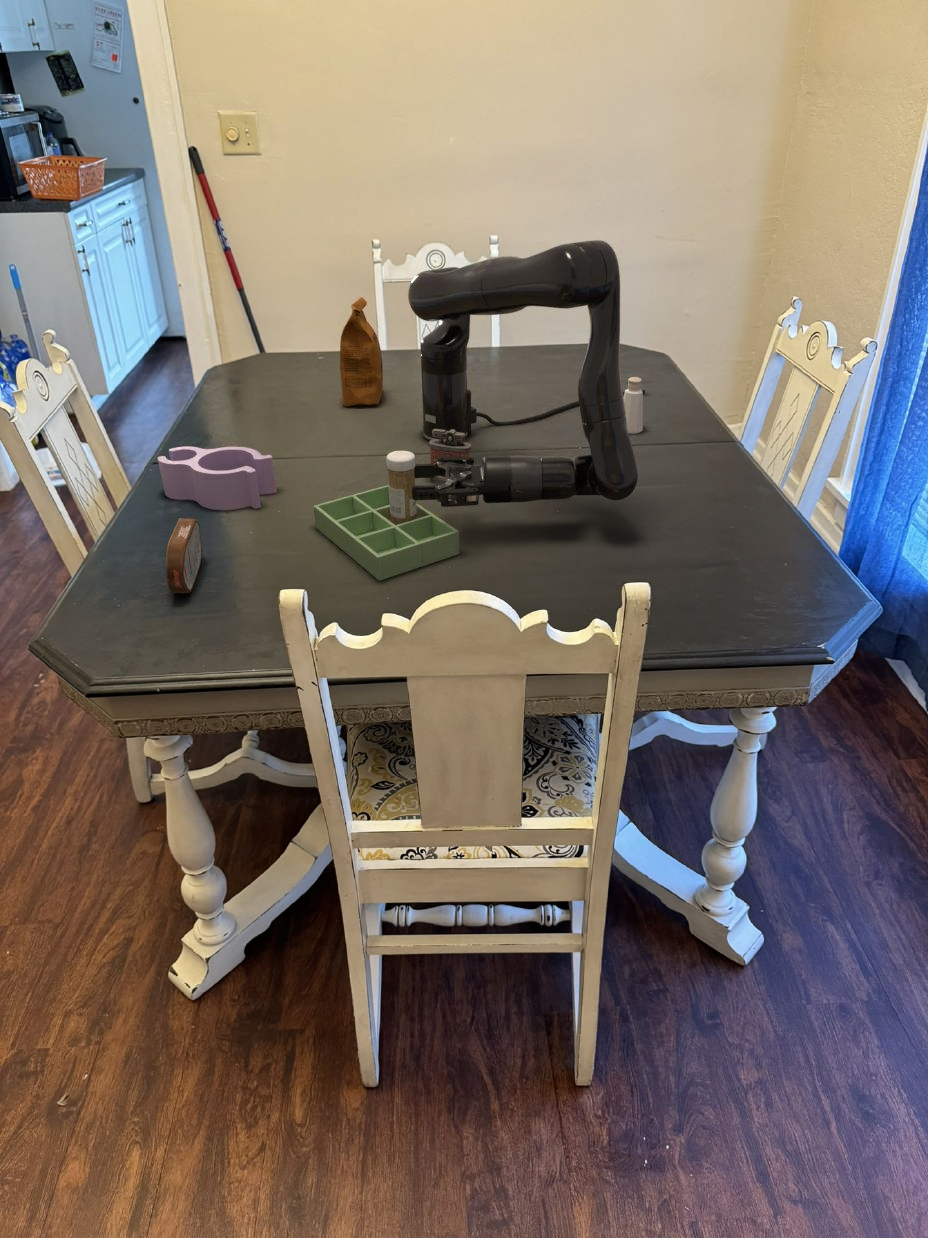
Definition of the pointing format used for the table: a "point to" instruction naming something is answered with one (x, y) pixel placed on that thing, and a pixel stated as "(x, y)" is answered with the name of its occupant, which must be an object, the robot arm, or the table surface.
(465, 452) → the lighter
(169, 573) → the tin
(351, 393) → the coffee package
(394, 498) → the sprinkles bottle
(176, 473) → the clip
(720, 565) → the table surface
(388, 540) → the organizer
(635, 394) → the pepper shaker
